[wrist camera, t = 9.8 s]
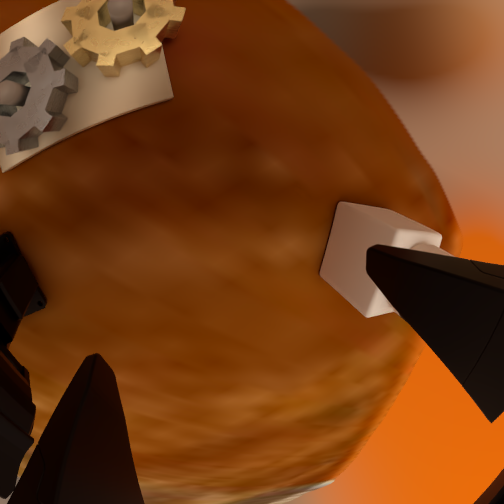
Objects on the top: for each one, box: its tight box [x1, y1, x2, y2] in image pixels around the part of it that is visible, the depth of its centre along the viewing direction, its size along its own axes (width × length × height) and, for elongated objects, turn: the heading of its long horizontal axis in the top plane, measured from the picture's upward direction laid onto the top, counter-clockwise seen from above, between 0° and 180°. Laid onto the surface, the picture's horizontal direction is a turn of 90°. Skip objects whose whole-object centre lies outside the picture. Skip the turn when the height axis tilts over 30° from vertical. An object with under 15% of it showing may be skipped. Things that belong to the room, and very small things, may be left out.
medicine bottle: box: [320, 202, 454, 323], centre depth 20 cm, size 7×7×12 cm
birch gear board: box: [0, 0, 174, 173], centre depth 9 cm, size 12×10×5 cm
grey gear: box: [0, 37, 78, 156], centre depth 9 cm, size 6×6×3 cm
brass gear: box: [61, 0, 186, 77], centre depth 9 cm, size 6×6×3 cm
